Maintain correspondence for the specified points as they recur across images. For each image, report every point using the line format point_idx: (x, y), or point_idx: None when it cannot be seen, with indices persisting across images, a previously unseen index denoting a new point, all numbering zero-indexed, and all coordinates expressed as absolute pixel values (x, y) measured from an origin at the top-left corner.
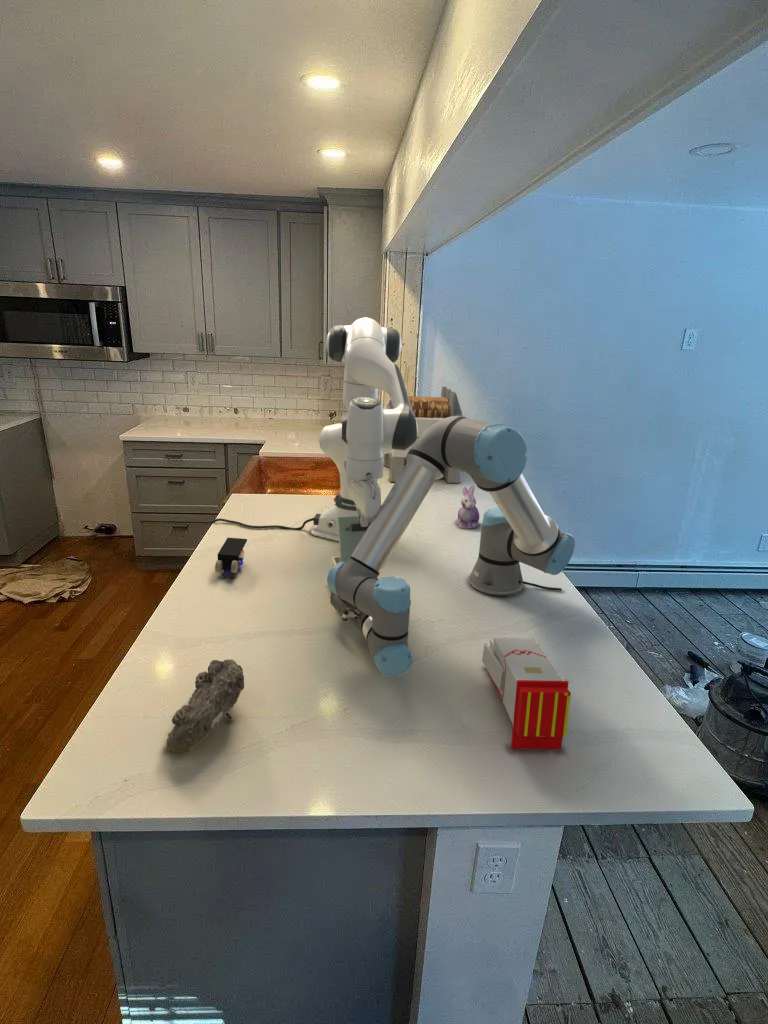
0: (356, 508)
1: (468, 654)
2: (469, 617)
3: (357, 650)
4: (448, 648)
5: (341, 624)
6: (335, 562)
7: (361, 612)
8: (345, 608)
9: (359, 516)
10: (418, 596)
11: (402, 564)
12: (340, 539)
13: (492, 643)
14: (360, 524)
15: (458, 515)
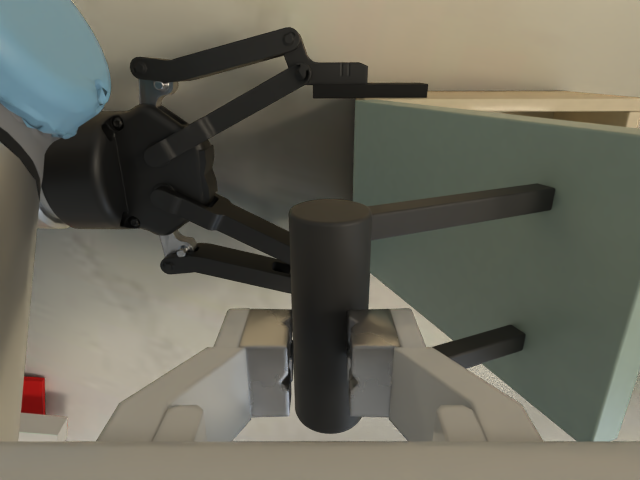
0: (489, 387)
1: (104, 363)
2: (265, 421)
3: (129, 97)
4: (130, 332)
5: None
6: (571, 107)
7: (90, 125)
8: (157, 71)
9: (351, 352)
10: None
11: None
12: (492, 122)
13: (30, 432)
14: (261, 310)
15: None
